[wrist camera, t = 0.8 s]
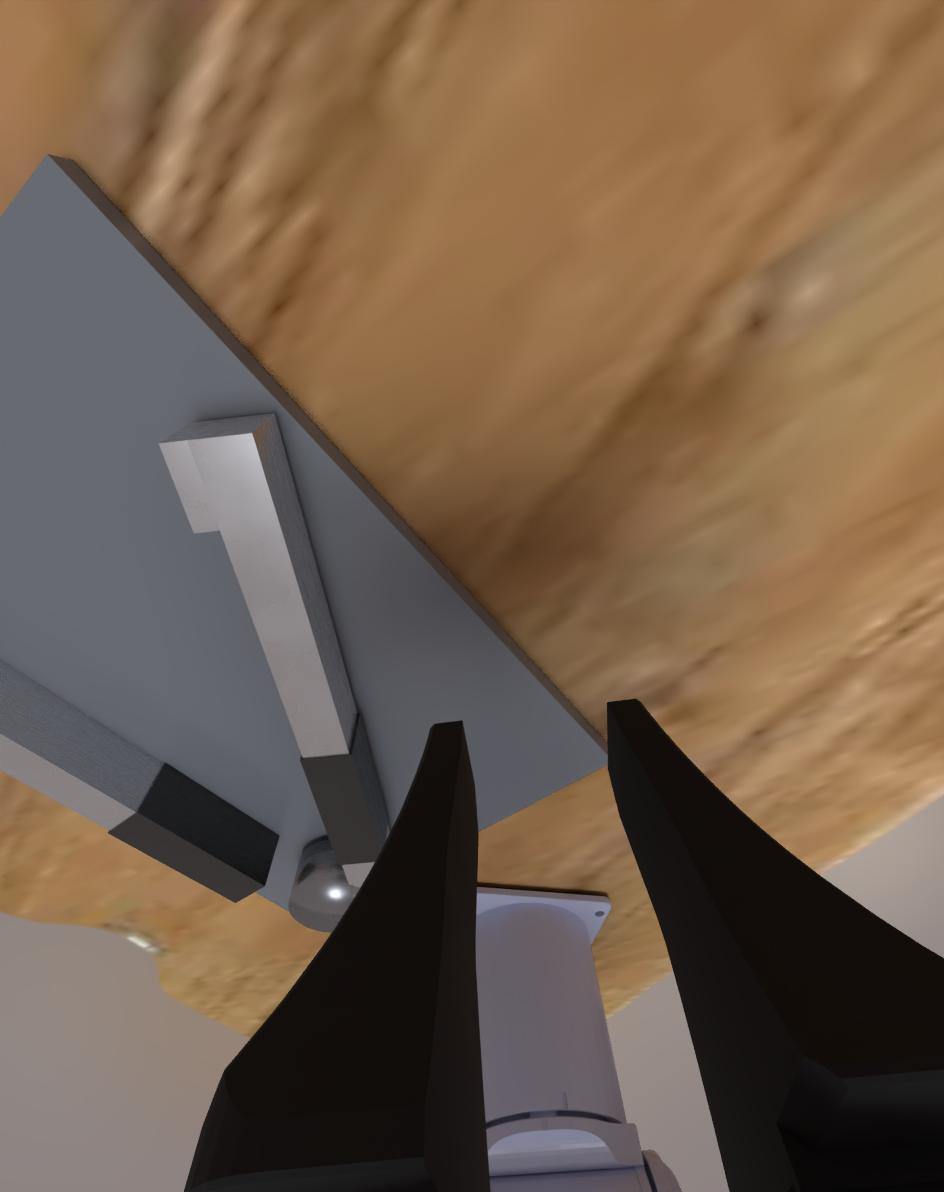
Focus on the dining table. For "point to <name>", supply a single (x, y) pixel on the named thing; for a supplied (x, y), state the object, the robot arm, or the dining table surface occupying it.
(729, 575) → the dining table surface
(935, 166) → the dining table surface
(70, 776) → the arm
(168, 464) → the tongs moving arm
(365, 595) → the slate board
